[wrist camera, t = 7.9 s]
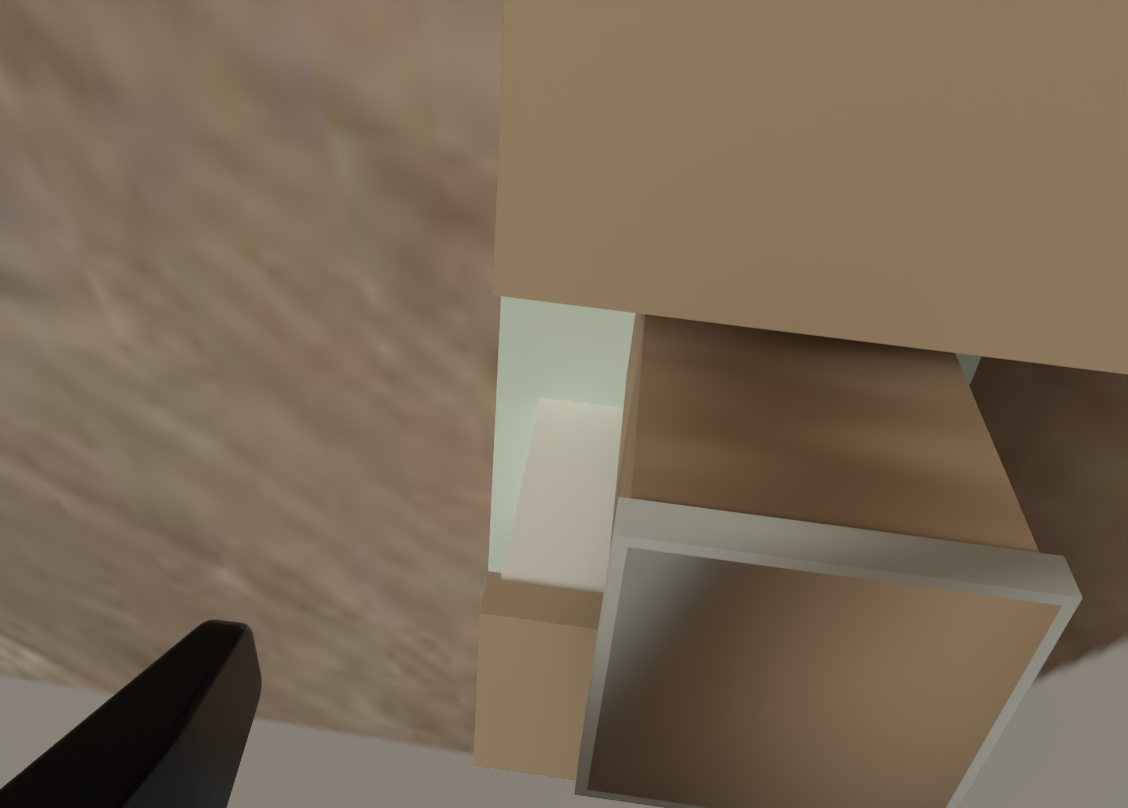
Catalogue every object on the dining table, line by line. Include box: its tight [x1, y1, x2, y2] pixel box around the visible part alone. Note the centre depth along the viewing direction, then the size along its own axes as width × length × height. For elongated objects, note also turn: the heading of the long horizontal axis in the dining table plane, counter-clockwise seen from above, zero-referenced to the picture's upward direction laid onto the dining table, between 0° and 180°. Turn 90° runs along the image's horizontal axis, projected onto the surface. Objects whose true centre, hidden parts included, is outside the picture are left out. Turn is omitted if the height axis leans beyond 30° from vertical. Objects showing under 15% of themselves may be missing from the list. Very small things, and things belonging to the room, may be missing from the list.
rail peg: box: [575, 313, 1083, 808], centre depth 15 cm, size 5×5×10 cm
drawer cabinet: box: [473, 0, 1128, 780], centre depth 17 cm, size 10×18×8 cm, turn 175°
